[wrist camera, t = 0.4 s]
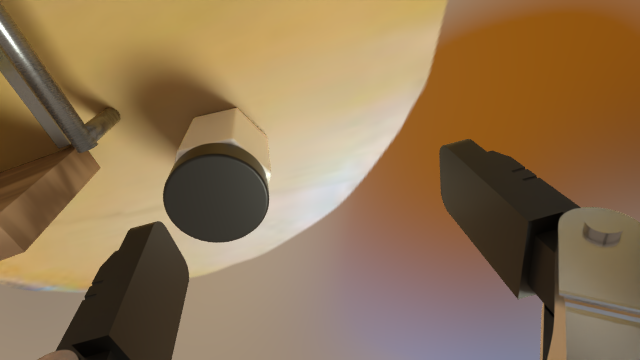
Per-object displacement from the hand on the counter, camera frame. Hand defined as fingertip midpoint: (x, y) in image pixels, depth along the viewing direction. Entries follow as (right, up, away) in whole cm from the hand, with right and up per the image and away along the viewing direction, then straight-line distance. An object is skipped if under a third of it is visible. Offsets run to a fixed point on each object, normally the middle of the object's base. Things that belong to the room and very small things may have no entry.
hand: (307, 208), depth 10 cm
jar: (-10, +5, +28) cm, 30 cm away
